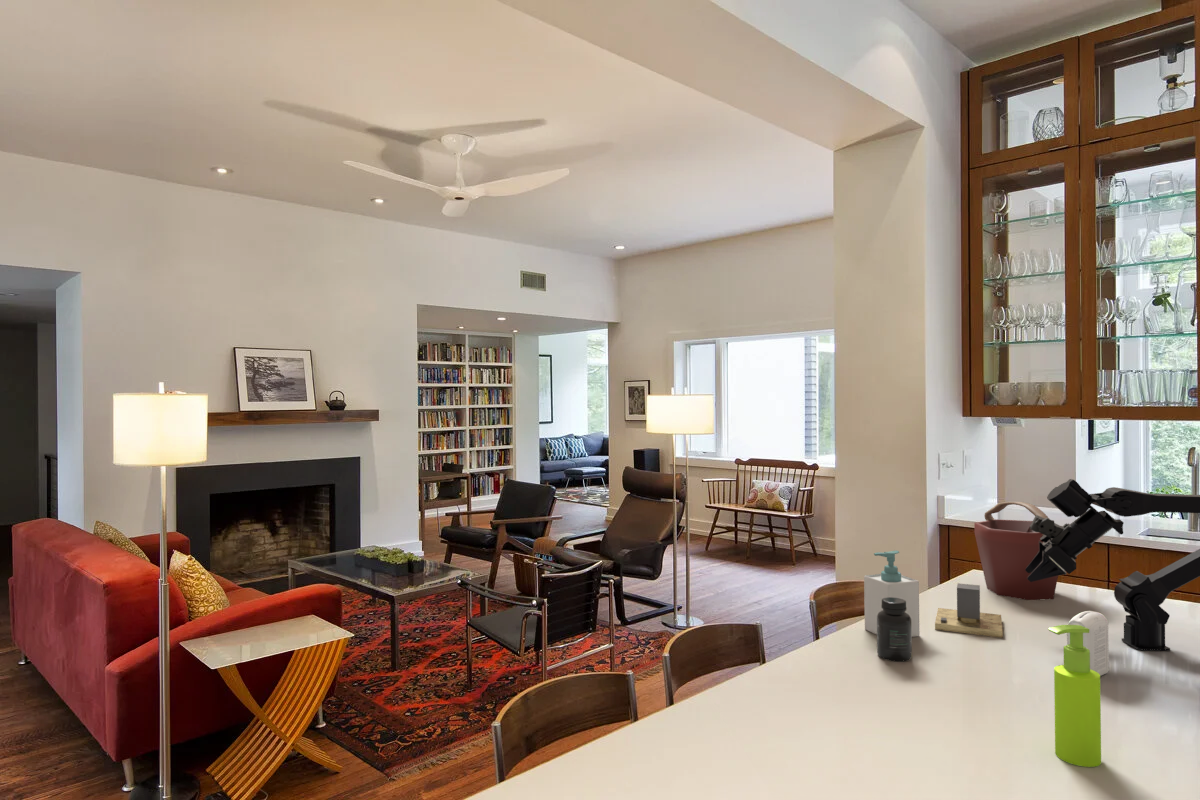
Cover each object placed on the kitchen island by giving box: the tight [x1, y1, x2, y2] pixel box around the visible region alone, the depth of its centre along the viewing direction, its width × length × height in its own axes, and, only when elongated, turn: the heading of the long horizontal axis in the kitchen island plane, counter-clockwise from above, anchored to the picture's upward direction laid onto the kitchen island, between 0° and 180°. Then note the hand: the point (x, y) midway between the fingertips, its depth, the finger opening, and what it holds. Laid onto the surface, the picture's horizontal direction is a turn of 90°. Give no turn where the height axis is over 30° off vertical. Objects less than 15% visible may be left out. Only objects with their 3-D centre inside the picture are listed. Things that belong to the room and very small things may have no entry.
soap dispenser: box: [1047, 624, 1102, 768], centre depth 111 cm, size 6×7×20 cm
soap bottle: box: [863, 550, 921, 638], centre depth 171 cm, size 9×9×19 cm
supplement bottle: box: [876, 597, 913, 663], centre depth 155 cm, size 7×7×12 cm
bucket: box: [974, 501, 1059, 601], centre depth 205 cm, size 24×22×25 cm
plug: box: [956, 582, 981, 622], centre depth 176 cm, size 5×5×9 cm
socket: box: [934, 607, 1004, 639], centre depth 176 cm, size 14×14×2 cm
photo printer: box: [1066, 610, 1110, 677], centre depth 144 cm, size 10×4×12 cm, turn 123°
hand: (1027, 575), depth 168 cm, fingers open, 9 cm apart
